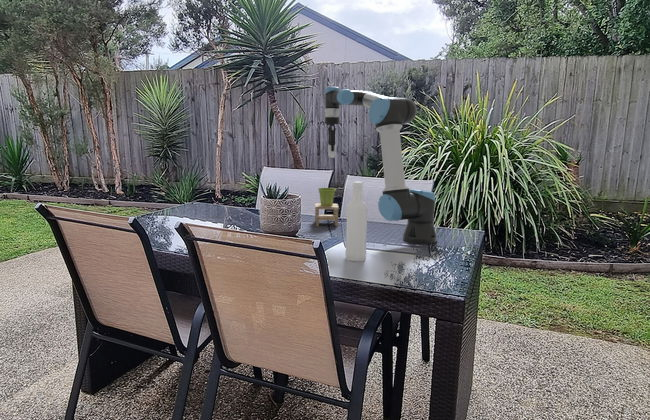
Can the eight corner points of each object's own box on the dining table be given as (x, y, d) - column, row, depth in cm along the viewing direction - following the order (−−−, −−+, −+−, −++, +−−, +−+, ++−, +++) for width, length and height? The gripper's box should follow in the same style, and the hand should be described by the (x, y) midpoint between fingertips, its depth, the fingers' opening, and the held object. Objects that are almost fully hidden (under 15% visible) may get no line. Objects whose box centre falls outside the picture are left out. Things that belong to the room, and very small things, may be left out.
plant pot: (338, 204, 229) (339, 188, 228) (330, 207, 221) (330, 190, 220) (323, 203, 234) (323, 187, 232) (314, 205, 226) (314, 189, 224)
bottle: (346, 255, 172) (348, 180, 167) (366, 256, 172) (368, 181, 166) (344, 261, 165) (346, 183, 159) (365, 262, 164) (368, 183, 158)
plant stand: (338, 226, 224) (338, 207, 222) (315, 226, 223) (315, 207, 222) (336, 221, 236) (336, 203, 234) (314, 221, 235) (314, 203, 233)
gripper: (323, 117, 243) (323, 155, 247) (326, 116, 219) (325, 158, 223) (337, 117, 244) (336, 155, 248) (341, 116, 219) (340, 158, 223)
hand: (331, 156), depth 235 cm, fingers open, 13 cm apart
